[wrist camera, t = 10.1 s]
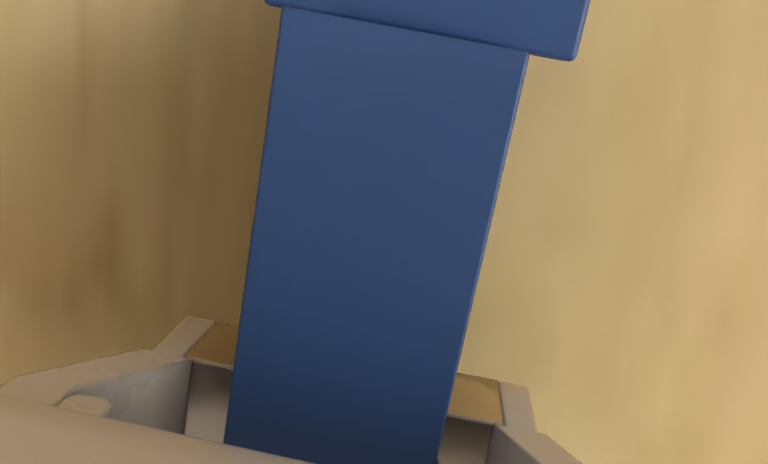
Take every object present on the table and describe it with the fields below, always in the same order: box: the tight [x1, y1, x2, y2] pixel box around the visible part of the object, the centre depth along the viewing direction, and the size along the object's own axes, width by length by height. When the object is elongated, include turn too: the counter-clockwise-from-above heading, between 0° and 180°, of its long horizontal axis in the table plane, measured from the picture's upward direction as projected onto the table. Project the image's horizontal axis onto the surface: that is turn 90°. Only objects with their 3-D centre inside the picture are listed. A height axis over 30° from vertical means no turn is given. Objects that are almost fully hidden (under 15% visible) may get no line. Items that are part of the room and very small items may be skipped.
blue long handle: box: [223, 0, 590, 464], centre depth 11 cm, size 19×5×4 cm, turn 170°
